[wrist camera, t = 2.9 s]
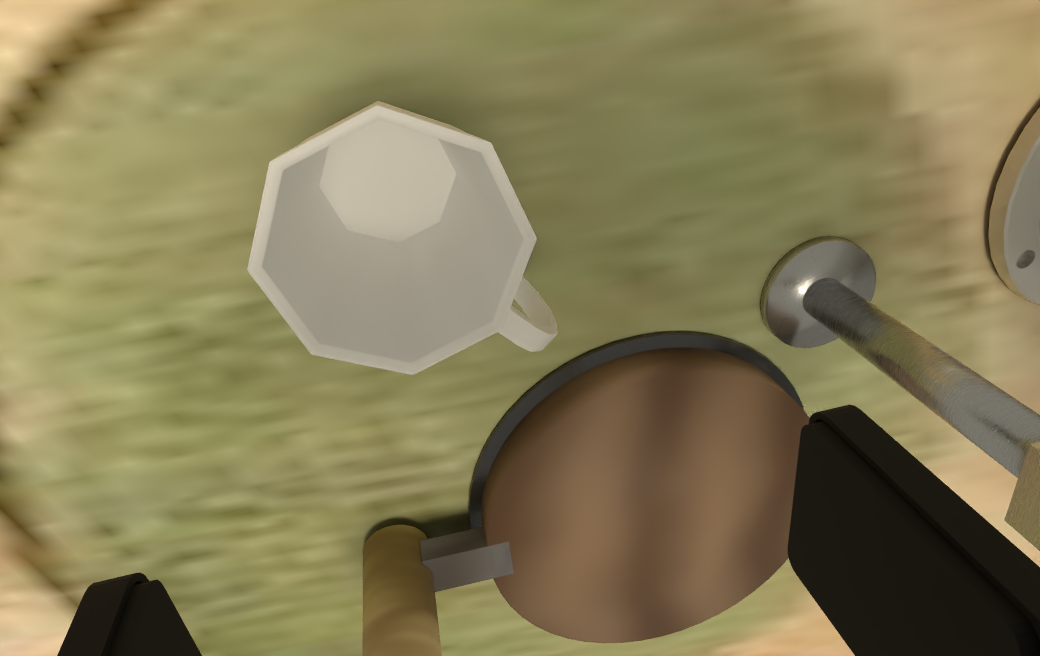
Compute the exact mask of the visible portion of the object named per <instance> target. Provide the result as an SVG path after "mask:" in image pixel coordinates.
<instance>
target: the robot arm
mask: <svg viewBox="0 0 1040 656" xmlns="http://www.w3.org/2000/svg"><path fill="white" fill-rule="evenodd" d="M988 237H989V244H990V251H991V258H992V260H993V263H994V265H995V268H996V270H997V273H998V275H999V277H1000V278H1001V279H1002V280H1003V281H1004V283H1005V284H1006V285H1007V286H1008V287H1009V289H1010V290H1012V291H1013V292H1015V293H1016V294H1018V295H1019V296H1021V297H1023V298H1024V299H1026V300H1028V301H1030V302H1033V303H1035V304H1037V305H1039V306H1040V107H1039V109H1038V110H1037V111H1036V113H1035V114H1034V115H1033V117H1032V118H1031V119H1030V121H1029V122H1028V123H1027V125H1026V126H1025V127H1024V129H1023V131H1022V133H1021V134H1020V136H1019V138H1018V140H1017V141H1016V143H1015V145H1014V147H1013V148H1012V150H1011V152H1010V154H1009V155H1008V158H1007V160H1006V163H1005V165H1004V168H1003V170H1002V172H1001V175H1000V177H999V180H998V182H997V185H996V189H995V193H994V197H993V201H992V205H991V210H990V220H989V234H988ZM788 557H789V560H790V563H791V566H792V568H793V570H794V571H795V573H796V575H797V576H798V577H799V579H800V580H801V582H802V583H803V584H804V586H805V587H806V588H807V590H808V591H809V593H810V594H811V595H812V597H813V598H814V600H815V601H816V602H817V604H818V605H819V606H820V608H821V609H822V611H823V612H824V613H825V615H826V616H827V617H828V619H829V620H830V622H831V623H832V624H833V626H834V627H835V629H836V630H837V631H838V633H839V634H840V635H841V637H842V638H843V640H844V641H845V642H846V644H847V645H848V647H849V648H850V649H851V651H852V652H853V653H854V655H855V656H1040V567H1039V566H1038V565H1036V564H1035V563H1034V562H1033V561H1032V560H1031V559H1030V558H1029V557H1027V556H1026V555H1025V554H1024V553H1023V552H1022V551H1021V550H1019V549H1018V548H1017V547H1016V546H1015V545H1014V544H1013V543H1011V542H1010V541H1009V540H1008V539H1007V538H1006V537H1005V536H1003V535H1002V534H1001V533H1000V532H999V531H998V530H997V529H996V528H994V527H993V526H992V525H991V524H990V523H989V522H988V521H986V520H985V519H984V518H983V517H982V516H981V515H980V514H978V513H977V512H976V511H975V510H974V509H973V508H972V507H971V506H969V505H968V504H967V503H966V502H965V501H964V500H963V499H961V498H960V497H959V496H958V495H957V494H956V493H955V492H953V491H952V490H951V489H950V488H949V487H948V486H947V485H946V484H944V483H943V482H942V481H941V480H940V479H939V478H938V477H936V476H935V475H934V474H933V473H932V472H931V471H930V470H928V469H927V468H926V467H925V466H924V465H923V464H922V463H920V462H919V461H918V460H917V459H916V458H915V457H914V456H913V455H911V454H910V453H909V452H908V451H907V450H906V449H905V448H903V447H902V446H901V445H900V444H899V443H898V442H897V441H895V440H894V439H893V438H892V437H891V436H890V435H889V434H888V433H886V432H885V431H884V430H883V429H882V428H881V427H880V426H878V425H877V424H876V423H875V422H874V421H873V420H872V419H870V418H869V417H868V416H867V415H866V414H865V413H864V412H863V411H861V410H860V409H859V408H857V407H856V406H853V405H846V406H842V407H837V408H833V409H829V410H825V411H820V412H817V413H814V414H812V416H811V417H810V419H809V423H808V425H804V426H803V427H802V429H801V433H800V442H799V451H798V460H797V469H796V477H795V486H794V495H793V504H792V513H791V522H790V530H789V539H788ZM57 656H202V655H201V653H200V651H199V650H198V648H197V646H196V644H195V642H194V641H193V639H192V637H191V635H190V633H189V631H188V630H187V628H186V626H185V624H184V622H183V621H182V619H181V617H180V615H179V613H178V611H177V610H176V608H175V606H174V604H173V602H172V601H171V599H170V597H169V595H168V593H167V591H166V590H165V588H164V586H163V585H162V583H161V582H160V581H158V580H153V581H149V580H148V579H147V577H146V576H145V575H144V574H142V573H134V574H130V575H126V576H122V577H117V578H113V579H109V580H105V581H100V582H96V583H93V584H92V585H90V586H89V587H88V588H87V590H86V592H85V594H84V596H83V598H82V600H81V602H80V605H79V607H78V609H77V612H76V614H75V616H74V619H73V621H72V623H71V625H70V628H69V630H68V632H67V635H66V637H65V639H64V642H63V644H62V646H61V648H60V651H59V653H58V655H57Z"/></svg>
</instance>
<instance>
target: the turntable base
mask: <svg viewBox="0 0 1040 656" xmlns="http://www.w3.org/2000/svg"><path fill="white" fill-rule="evenodd" d="M682 347H691V348H701V349H710V350H715V351H719V352H723V353H727V354H731V355H733V356H736V357H738V358H741V359H743V360H745V361H748V362H750V363H751V364H753V365H755V366H756V367H758V368H759V369H761V370H763V371H764V372H765V373H766V374H768V375H769V376H770V377H771V378H772V379H773V380H774V381H775V382H777V383H778V384H779V385H780V386H781V387H782V388H783V389H784V390H785V391H786V393H787V394H788V395H789V396H790V397H791V398H792V399H793V400H794V401H795V402H796V403H797V404H798V405H799V406H800V407H801V408H802V409H803V406H802V403H801V401H800V399H799V397H798V395H797V393H796V391H795V388H794V387H793V386H792V384H791V383H790V382H789V380H788V379H787V378H786V376H785V375H784V374H783V373H782V372H781V371H780V370H779V369H778V368H777V367H776V366H775V365H774V364H773V363H772V362H771V361H769V360H768V359H767V358H766V357H764V356H763V355H761V354H760V353H758V352H757V351H755V350H753V349H752V348H750V347H748V346H746V345H743V344H741V343H739V342H736V341H734V340H731V339H728V338H724V337H720V336H716V335H712V334H705V333H696V332H660V333H653V334H645V335H639V336H635V337H631V338H627V339H623V340H619V341H615V342H612V343H610V344H607V345H604V346H602V347H599V348H596V349H594V350H591V351H589V352H587V353H585V354H583V355H581V356H579V357H577V358H575V359H573V360H571V361H569V362H567V363H565V364H564V365H562V366H561V367H559V368H558V369H556V370H555V371H553V372H552V373H550V374H549V375H547V376H545V377H544V378H543V379H542V380H540V381H539V382H538V383H537V384H536V385H534V386H533V387H532V388H531V389H529V390H528V391H527V392H526V393H525V394H524V395H523V396H522V397H521V398H520V399H519V400H518V401H517V402H516V403H515V404H514V405H513V406H512V407H511V408H510V409H509V410H508V411H507V413H506V414H505V415H504V417H503V418H502V419H501V421H500V422H499V423H498V425H497V426H496V427H495V428H494V430H493V432H492V433H491V435H490V437H489V439H488V440H487V442H486V444H485V446H484V447H483V449H482V451H481V454H480V456H479V459H478V461H477V464H476V466H475V469H474V473H473V477H472V481H471V486H470V494H469V516H470V526H471V529H475V528H479V527H482V520H481V505H482V495H483V491H484V487H485V483H486V479H487V476H488V473H489V471H490V468H491V466H492V464H493V461H494V459H495V457H496V455H497V454H498V452H499V450H500V448H501V447H502V445H503V443H504V442H505V440H506V439H507V437H508V436H509V435H510V433H511V432H512V431H513V430H514V428H515V427H516V426H517V424H518V423H519V422H520V421H521V420H522V419H523V418H524V417H525V416H526V415H527V414H528V413H529V412H530V411H531V410H532V409H533V408H534V407H535V406H536V405H537V404H538V403H539V402H541V401H542V400H543V399H544V398H546V397H547V396H548V395H549V394H550V393H552V392H553V391H554V390H556V389H557V388H559V387H560V386H562V385H563V384H565V383H567V382H568V381H570V380H571V379H573V378H574V377H576V376H578V375H580V374H582V373H584V372H586V371H588V370H590V369H592V368H594V367H596V366H598V365H601V364H603V363H606V362H609V361H611V360H614V359H617V358H619V357H623V356H627V355H631V354H634V353H638V352H642V351H648V350H655V349H662V348H682ZM803 410H804V409H803Z"/></svg>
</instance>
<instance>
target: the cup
mask: <svg viewBox="0 0 1040 656" xmlns="http://www.w3.org/2000/svg"><path fill="white" fill-rule="evenodd" d="M536 240H537V238H536V235H535V233H534V231H533V229H532V227H531V225H530V223H529V221H528V219H527V217H526V215H525V212H524V210H523V208H522V206H521V204H520V202H519V200H518V198H517V196H516V194H515V192H514V189H513V187H512V185H511V183H510V181H509V179H508V177H507V175H506V173H505V171H504V169H503V166H502V164H501V162H500V160H499V158H498V156H497V154H496V152H495V150H494V148H493V146H492V143H490V142H488V141H486V140H484V139H482V138H480V137H477V136H474V135H471V134H469V133H466V132H464V131H462V130H460V129H458V128H456V127H454V126H452V125H449V124H446V123H443V122H440V121H437V120H434V119H431V118H428V117H425V116H422V115H419V114H416V113H413V112H410V111H407V110H404V109H401V108H398V107H395V106H392V105H389V104H386V103H383V102H380V101H377V102H375V103H373V104H371V105H369V106H367V107H365V108H363V109H361V110H359V111H358V112H356V113H354V114H352V115H350V116H348V117H346V118H344V119H342V120H341V121H339V122H337V123H335V124H333V125H331V126H329V127H327V128H325V129H323V130H322V131H320V132H318V133H316V134H314V135H312V136H310V137H309V138H307V139H306V140H304V141H303V142H301V143H300V144H298V145H297V146H295V147H294V148H292V149H290V150H288V151H286V152H284V153H283V154H281V155H279V156H278V157H276V158H275V159H273V160H271V161H270V163H269V167H268V172H267V177H266V182H265V186H264V191H263V196H262V201H261V206H260V210H259V215H258V220H257V225H256V230H255V234H254V239H253V244H252V249H251V254H250V258H249V263H248V268H247V271H248V272H249V273H250V275H251V276H252V277H253V279H254V280H255V281H256V283H257V284H258V285H259V286H260V288H261V289H262V290H263V292H264V293H265V294H266V296H267V297H268V298H269V300H270V301H271V302H272V304H273V305H274V306H275V308H276V309H277V310H278V311H279V313H280V314H281V315H282V317H283V318H284V319H285V321H286V322H287V323H288V325H289V326H290V327H291V329H292V330H293V331H294V333H295V334H296V335H297V336H298V338H299V339H300V340H301V342H302V343H303V344H304V346H305V347H306V348H307V350H308V351H309V352H310V354H311V355H316V356H321V357H326V358H331V359H336V360H341V361H346V362H351V363H356V364H361V365H365V366H370V367H375V368H380V369H385V370H390V371H395V372H400V373H405V374H410V375H414V374H416V373H418V372H420V371H422V370H424V369H426V368H428V367H430V366H432V365H434V364H436V363H438V362H440V361H442V360H444V359H446V358H448V357H450V356H452V355H454V354H456V353H458V352H459V351H461V350H463V349H465V348H467V347H469V346H471V345H473V344H475V343H477V342H479V341H481V340H483V339H485V338H487V337H489V336H491V335H493V334H495V333H497V332H498V333H500V334H501V335H503V336H504V337H506V338H507V339H509V340H510V341H512V342H513V343H514V344H516V345H517V346H519V347H521V348H524V349H526V350H528V351H530V352H536V351H542V350H543V349H544V348H545V347H546V346H547V345H548V344H549V343H550V341H551V340H552V339H553V338H554V337H555V336H556V335H557V334H558V330H557V323H556V320H555V318H554V316H553V314H552V311H551V309H550V308H549V306H548V305H547V304H546V302H545V301H544V300H543V298H542V297H541V296H540V294H539V293H538V292H537V290H536V289H535V288H534V287H533V286H532V285H531V284H530V283H529V282H528V281H527V280H526V279H525V277H524V276H523V274H524V271H525V269H526V266H527V263H528V261H529V258H530V256H531V253H532V250H533V248H534V245H535V243H536ZM513 300H515V301H516V302H517V303H518V304H519V306H520V307H521V308H522V310H523V311H524V313H525V314H526V316H527V317H528V318H527V317H526V316H525V315H523V314H522V313H521V312H520V311H519V310H517V309H516V308H515V307H514V306H513V305H512V302H513Z"/></svg>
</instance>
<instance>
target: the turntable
mask: <svg viewBox="0 0 1040 656" xmlns="http://www.w3.org/2000/svg"><path fill="white" fill-rule="evenodd" d="M809 419H810V418H809V417H808V415H807V414H806V413H805V412H804V410H803V409H802V408H801V407H800V406H799V405H798V404H797V403H796V402H795V401H794V400H793V399H792V398H791V397H790V396H789V395H788V394H787V393H786V391H785V390H784V389H783V388H782V387H781V386H780V385H779V384H778V383H777V382H775V381H774V380H773V379H772V378H771V377H770V376H769V375H768V374H766V373H765V372H764V371H763V370H761V369H759V368H758V367H756V366H755V365H753V364H751V363H750V362H748V361H745V360H743V359H741V358H738V357H736V356H733V355H731V354H727V353H723V352H719V351H715V350H710V349H701V348H691V347H682V348H662V349H655V350H648V351H642V352H638V353H634V354H631V355H627V356H623V357H619V358H617V359H614V360H611V361H609V362H606V363H603V364H601V365H598V366H596V367H594V368H592V369H590V370H588V371H586V372H584V373H582V374H580V375H578V376H576V377H574V378H573V379H571V380H570V381H568V382H567V383H565V384H563V385H562V386H560V387H559V388H557V389H556V390H554V391H553V392H552V393H550V394H549V395H548V396H547V397H546V398H544V399H543V400H542V401H541V402H539V403H538V404H537V405H536V406H535V407H534V408H533V409H532V410H531V411H530V412H529V413H528V414H527V415H526V416H525V417H524V418H523V419H522V420H521V421H520V422H519V423H518V424H517V426H516V427H515V428H514V430H513V431H512V432H511V433H510V435H509V436H508V437H507V439H506V440H505V442H504V443H503V445H502V447H501V448H500V450H499V452H498V454H497V455H496V457H495V459H494V461H493V464H492V466H491V468H490V471H489V473H488V476H487V479H486V483H485V487H484V491H483V495H482V505H481V520H482V527H479V528H475V529H471V530H466V531H462V532H457V533H453V534H449V535H444V536H440V537H435V538H431V539H428V538H427V536H426V535H425V534H424V533H423V532H422V531H421V530H419V529H417V528H415V527H412V526H408V525H392V526H388V527H385V528H382V529H380V530H378V531H376V532H375V533H373V534H372V535H371V536H370V537H369V538H368V540H367V541H366V543H365V545H364V548H363V656H442V653H441V644H440V635H439V626H438V617H437V608H436V599H435V592H437V591H441V590H446V589H450V588H454V587H458V586H463V585H467V584H471V583H475V582H479V581H484V580H488V579H492V578H494V581H495V583H496V585H497V587H498V589H499V591H500V593H501V594H502V596H503V597H504V598H505V600H506V601H507V602H508V604H509V605H510V606H511V607H512V608H513V609H514V610H515V611H516V612H517V613H518V614H520V615H521V616H522V617H523V618H524V619H526V620H527V621H529V622H530V623H532V624H534V625H535V626H537V627H539V628H541V629H543V630H545V631H547V632H550V633H552V634H555V635H558V636H562V637H565V638H568V639H573V640H579V641H584V642H595V643H624V642H633V641H641V640H646V639H651V638H656V637H661V636H664V635H668V634H671V633H674V632H678V631H681V630H684V629H686V628H689V627H691V626H694V625H697V624H699V623H701V622H703V621H706V620H708V619H710V618H712V617H714V616H716V615H718V614H720V613H721V612H723V611H725V610H726V609H728V608H730V607H732V606H733V605H735V604H737V603H738V602H739V601H741V600H742V599H744V598H745V597H747V596H748V595H749V594H751V593H752V592H754V591H755V590H756V589H757V588H758V587H760V586H761V585H762V584H763V583H764V582H765V581H767V580H768V579H769V578H770V577H771V576H772V575H773V574H774V573H775V572H776V571H777V570H778V569H779V568H780V567H781V566H782V565H783V564H784V563H785V561H786V560H787V559H788V558H789V557H788V539H789V530H790V522H791V513H792V504H793V495H794V486H795V477H796V469H797V460H798V451H799V442H800V433H801V429H802V427H803V426H804V425H808V423H809Z"/></svg>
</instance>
